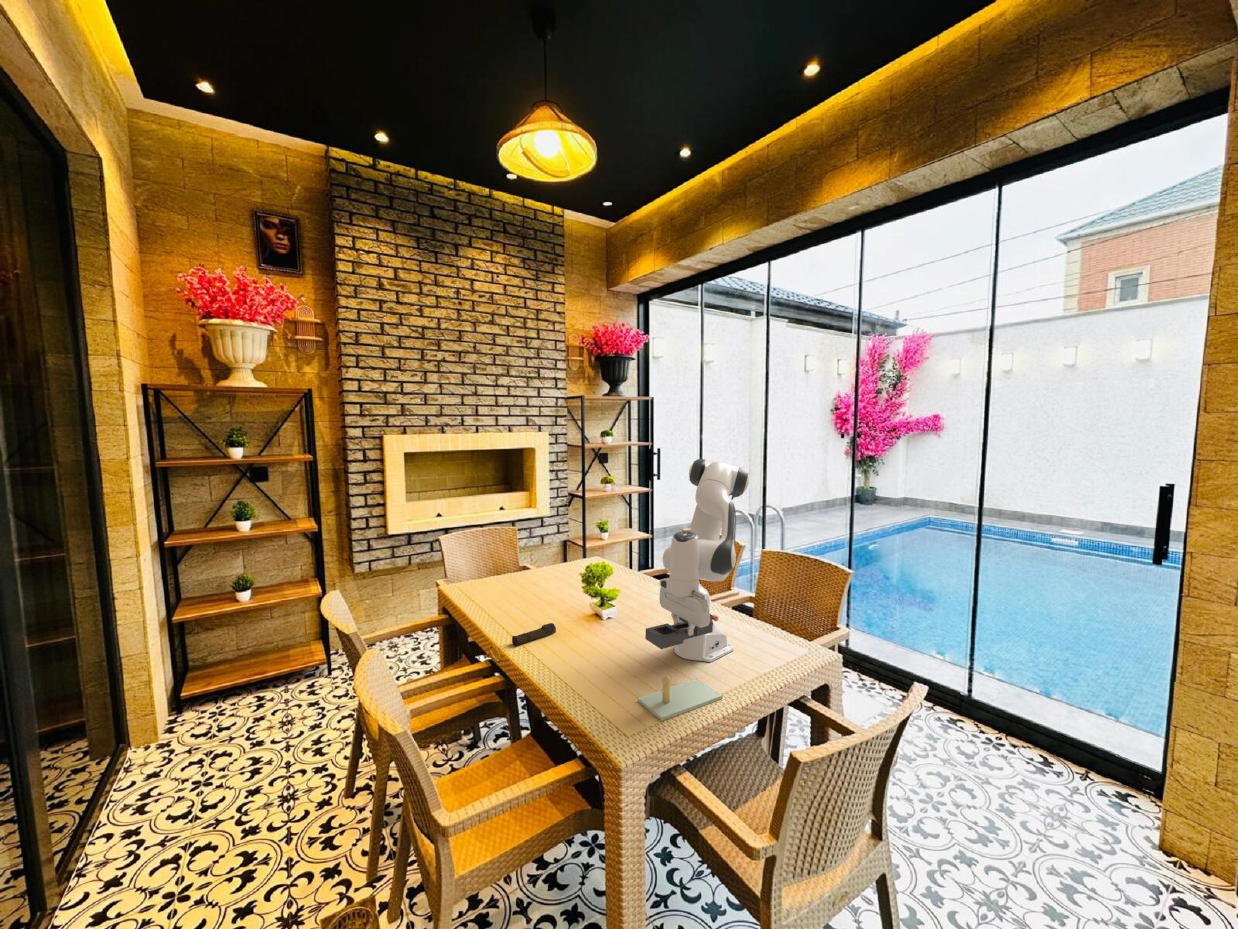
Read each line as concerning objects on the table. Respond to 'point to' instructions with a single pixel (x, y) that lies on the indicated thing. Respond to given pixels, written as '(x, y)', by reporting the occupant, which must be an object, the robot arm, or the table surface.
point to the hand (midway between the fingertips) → (683, 631)
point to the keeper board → (678, 698)
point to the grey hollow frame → (673, 634)
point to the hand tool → (534, 634)
